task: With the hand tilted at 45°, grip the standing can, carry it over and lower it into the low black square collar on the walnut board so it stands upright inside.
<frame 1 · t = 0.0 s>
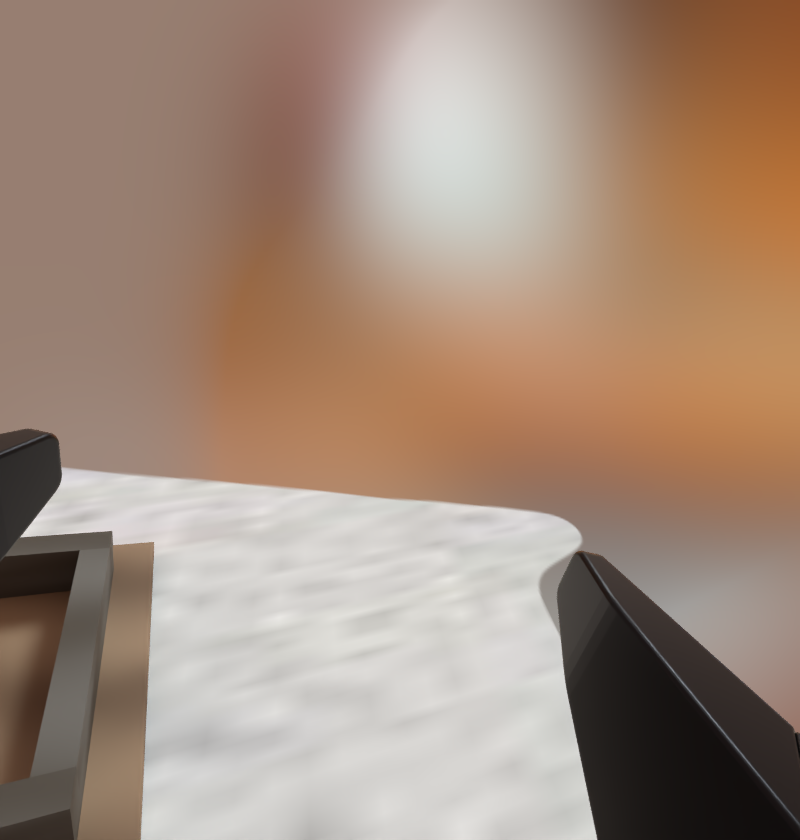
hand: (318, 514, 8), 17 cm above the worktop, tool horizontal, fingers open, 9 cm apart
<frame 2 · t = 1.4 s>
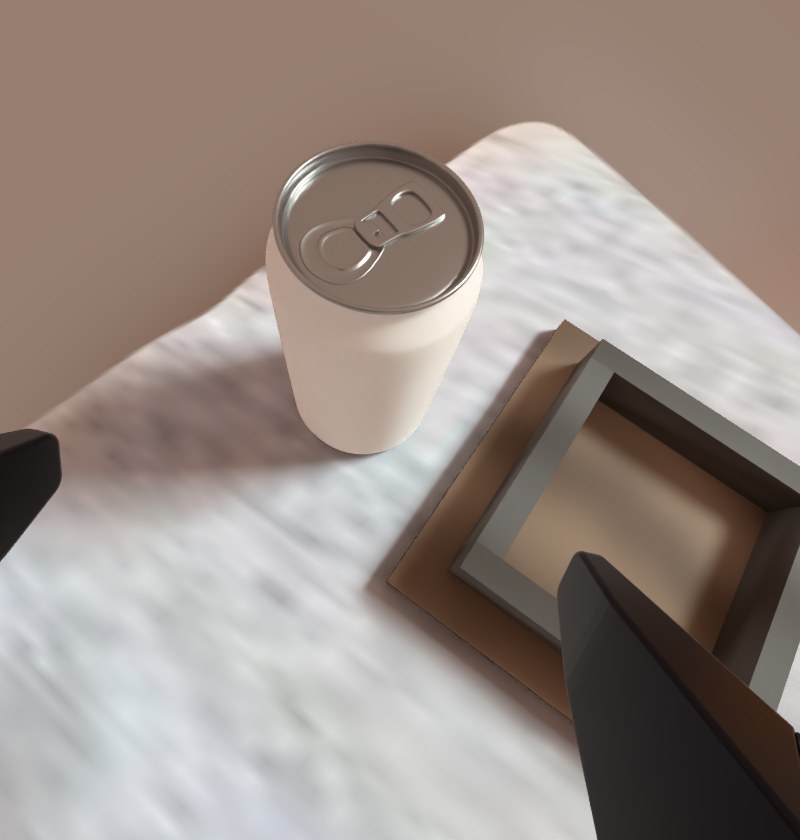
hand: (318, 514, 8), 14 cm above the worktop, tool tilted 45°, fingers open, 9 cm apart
can: (362, 395, 24), on the worktop
socket: (621, 539, 23), on the worktop
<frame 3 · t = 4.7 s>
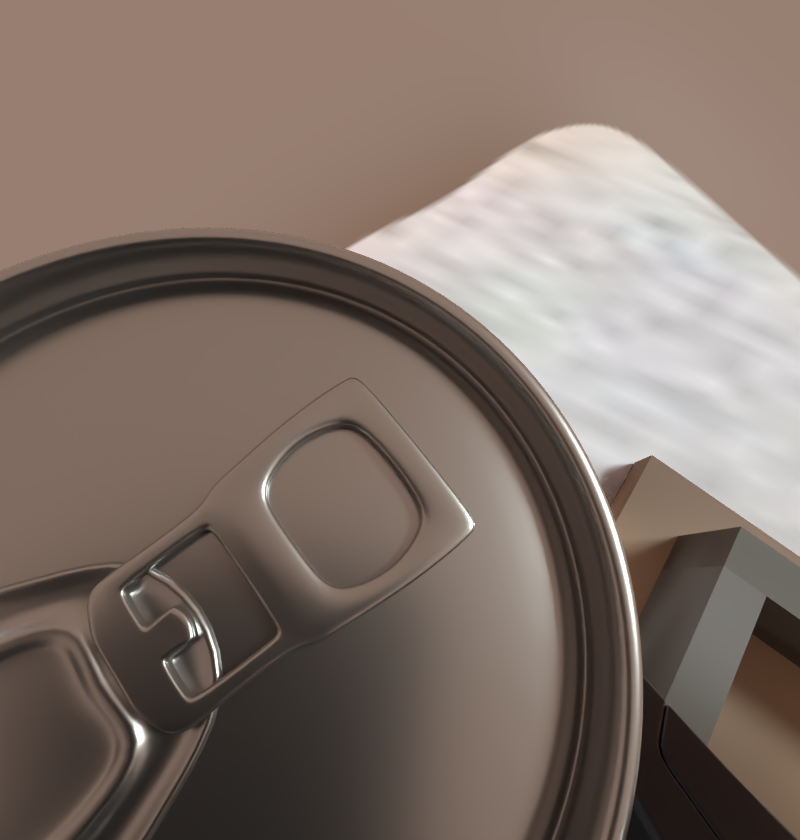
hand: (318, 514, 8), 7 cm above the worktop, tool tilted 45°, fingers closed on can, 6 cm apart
can: (313, 593, 14), on the worktop, touching gripper
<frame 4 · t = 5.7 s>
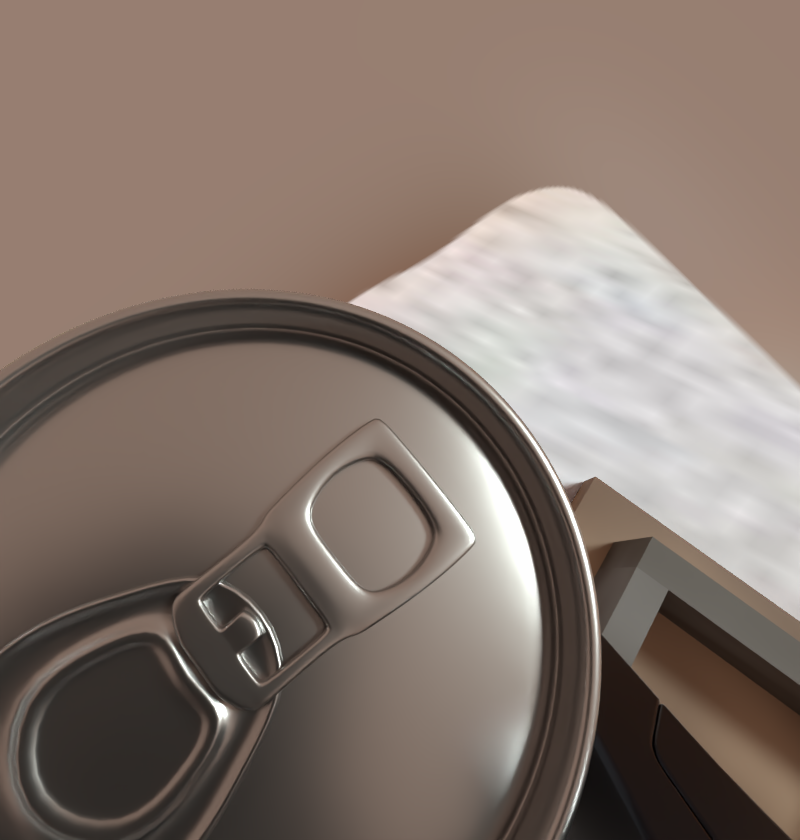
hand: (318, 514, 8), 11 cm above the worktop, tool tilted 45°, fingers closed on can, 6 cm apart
can: (283, 583, 15), point 3 cm above the worktop, touching gripper
socket: (669, 800, 17), on the worktop
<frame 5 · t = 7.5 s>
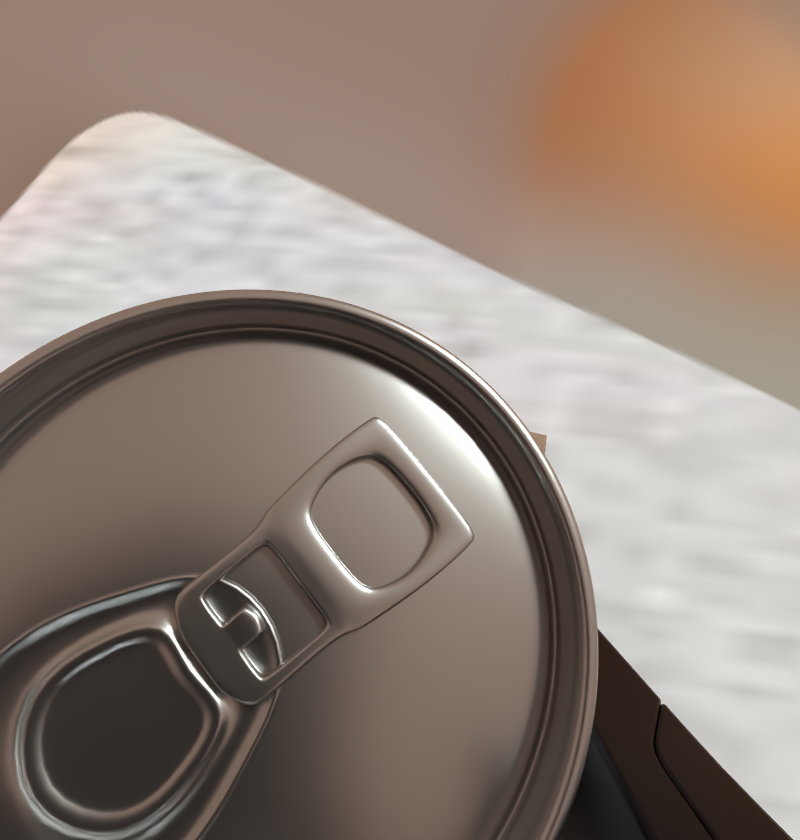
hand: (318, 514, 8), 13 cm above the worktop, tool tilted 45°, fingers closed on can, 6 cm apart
can: (284, 582, 15), point 5 cm above the worktop, touching gripper
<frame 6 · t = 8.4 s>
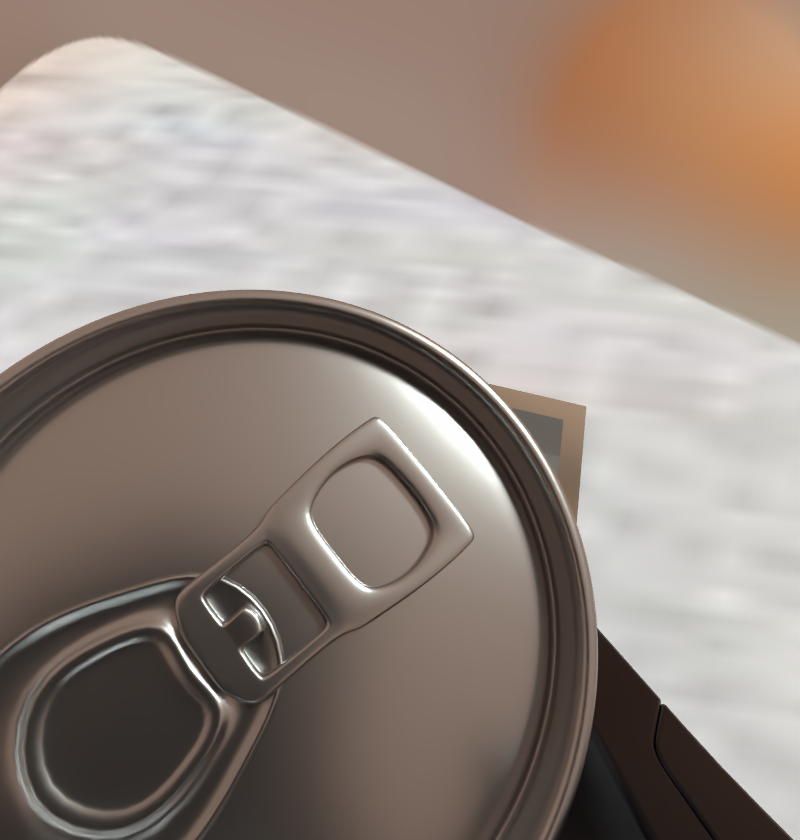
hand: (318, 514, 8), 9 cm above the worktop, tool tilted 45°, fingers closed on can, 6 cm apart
can: (284, 582, 15), point 1 cm above the worktop, touching gripper
socket: (322, 583, 16), on the worktop
when the fingers open (9 cm above the worktop, at t = 9.1 s): can stays where it is, resting on socket.
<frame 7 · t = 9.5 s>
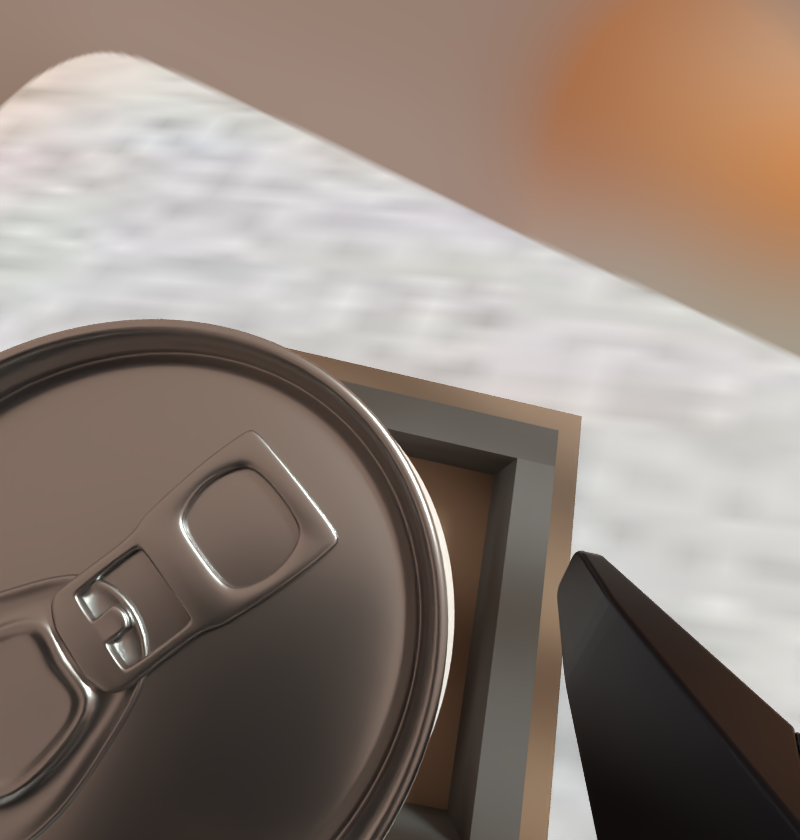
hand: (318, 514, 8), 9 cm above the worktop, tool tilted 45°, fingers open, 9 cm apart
can: (285, 591, 16), point 1 cm above the worktop, touching socket
socket: (321, 592, 16), on the worktop
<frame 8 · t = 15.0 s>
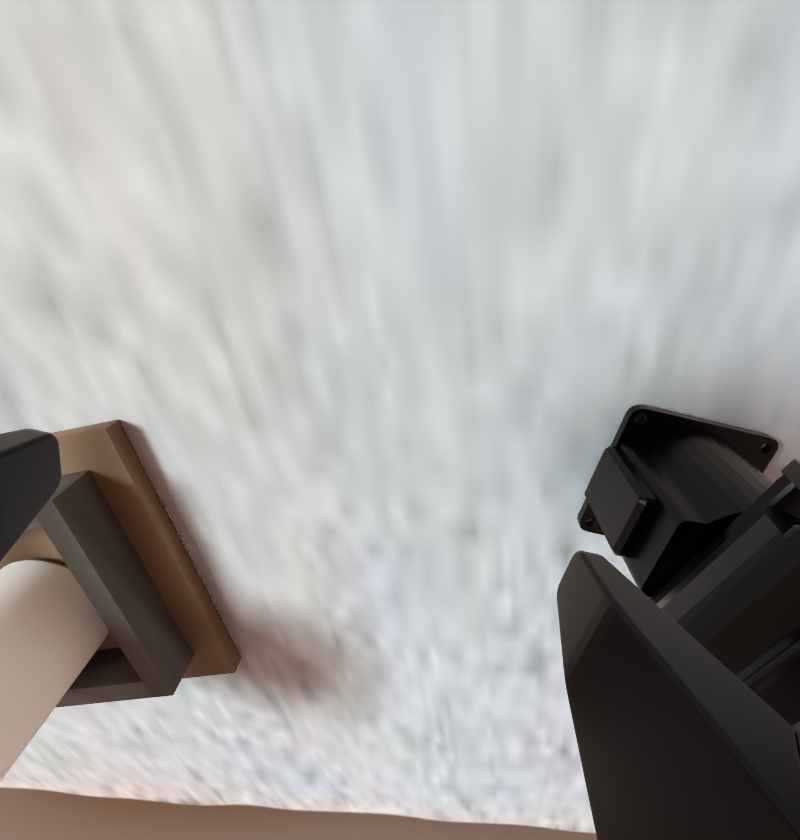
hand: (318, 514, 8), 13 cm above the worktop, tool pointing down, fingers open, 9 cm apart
can: (60, 598, 27), point 1 cm above the worktop, touching socket
socket: (56, 573, 27), on the worktop
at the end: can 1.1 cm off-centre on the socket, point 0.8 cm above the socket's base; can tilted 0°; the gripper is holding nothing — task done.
